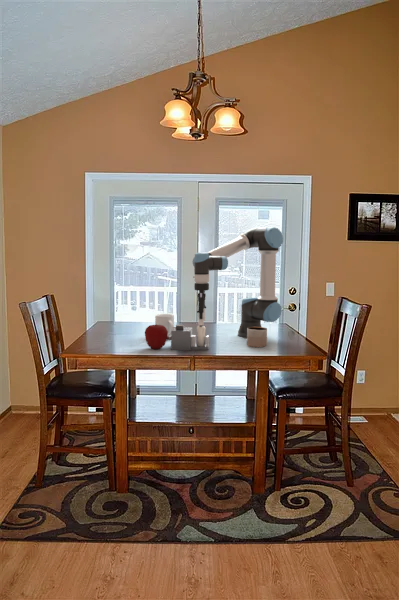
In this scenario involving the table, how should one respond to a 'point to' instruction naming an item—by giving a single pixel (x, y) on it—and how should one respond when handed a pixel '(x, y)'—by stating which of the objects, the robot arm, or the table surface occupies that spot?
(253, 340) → the planter
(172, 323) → the mug
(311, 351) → the table surface
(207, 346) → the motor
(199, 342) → the white bottle
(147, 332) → the apple
